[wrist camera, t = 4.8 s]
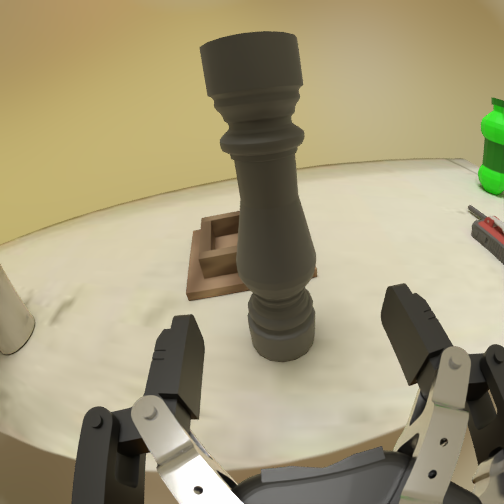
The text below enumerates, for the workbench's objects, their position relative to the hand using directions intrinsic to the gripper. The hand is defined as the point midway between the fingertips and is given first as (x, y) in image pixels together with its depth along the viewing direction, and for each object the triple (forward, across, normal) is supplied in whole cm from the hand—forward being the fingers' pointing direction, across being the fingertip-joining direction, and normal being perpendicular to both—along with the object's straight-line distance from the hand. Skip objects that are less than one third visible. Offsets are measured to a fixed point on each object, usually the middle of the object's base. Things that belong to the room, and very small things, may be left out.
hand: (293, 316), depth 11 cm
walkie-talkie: (+20, -39, +14) cm, 46 cm away
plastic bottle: (+39, -62, +14) cm, 74 cm away
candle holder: (+10, 0, +14) cm, 17 cm away
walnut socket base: (+26, +4, +14) cm, 29 cm away
